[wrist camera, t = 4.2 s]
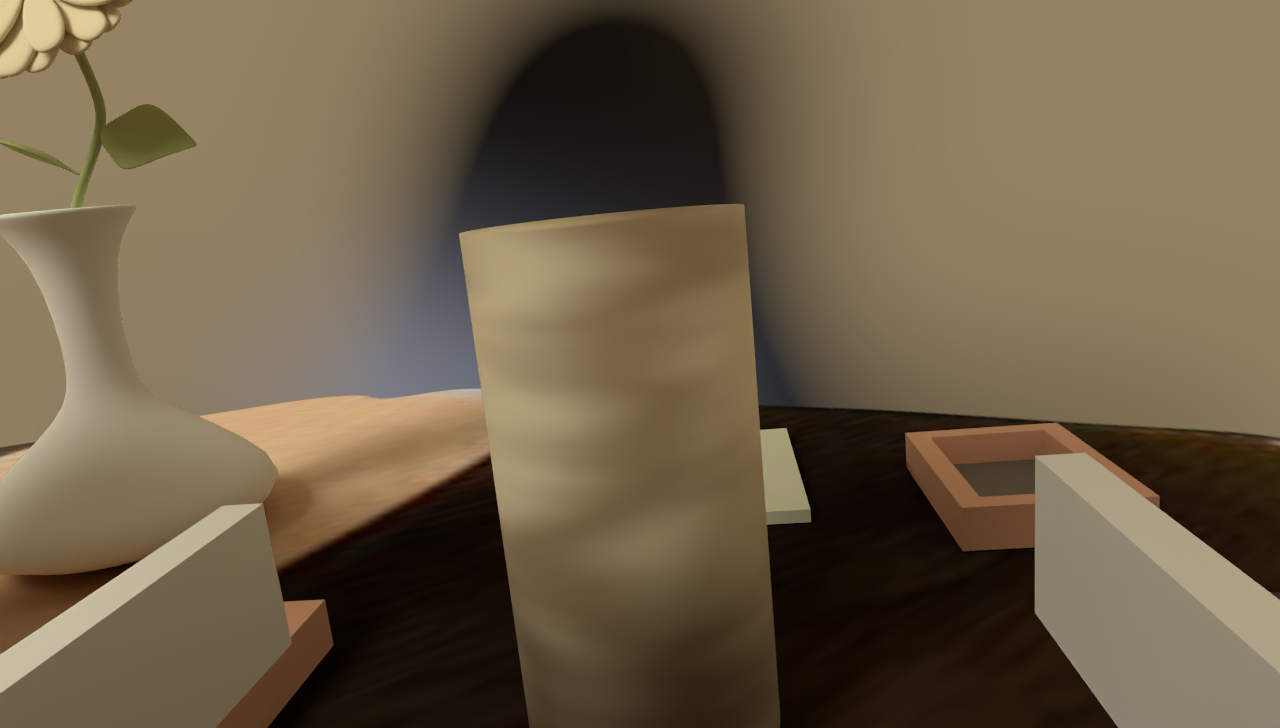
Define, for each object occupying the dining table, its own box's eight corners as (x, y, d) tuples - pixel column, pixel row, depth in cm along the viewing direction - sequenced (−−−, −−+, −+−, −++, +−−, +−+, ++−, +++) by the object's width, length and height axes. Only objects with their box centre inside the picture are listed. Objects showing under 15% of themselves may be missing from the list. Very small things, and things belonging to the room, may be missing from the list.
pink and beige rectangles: (-95, 860, 18) (-116, 799, 18) (367, 466, 42) (362, 438, 42) (1510, 828, 15) (1520, 753, 15) (1013, 422, 39) (1013, 391, 39)
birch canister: (505, 812, 18) (417, 242, 15) (556, 654, 24) (499, 224, 21) (791, 805, 17) (750, 210, 15) (771, 644, 23) (739, 200, 20)
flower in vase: (-92, 589, 33) (-308, -110, 27) (168, 484, 43) (47, -41, 38) (134, 630, 27) (-79, -224, 22) (368, 499, 38) (261, -108, 32)
